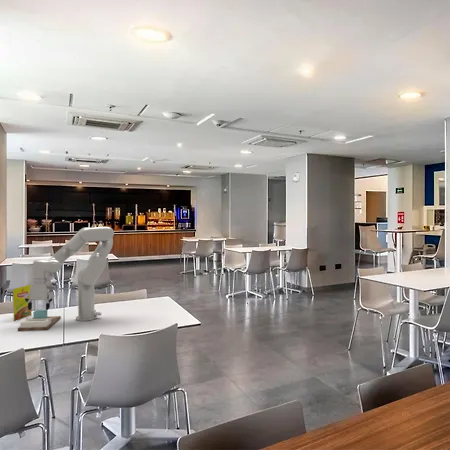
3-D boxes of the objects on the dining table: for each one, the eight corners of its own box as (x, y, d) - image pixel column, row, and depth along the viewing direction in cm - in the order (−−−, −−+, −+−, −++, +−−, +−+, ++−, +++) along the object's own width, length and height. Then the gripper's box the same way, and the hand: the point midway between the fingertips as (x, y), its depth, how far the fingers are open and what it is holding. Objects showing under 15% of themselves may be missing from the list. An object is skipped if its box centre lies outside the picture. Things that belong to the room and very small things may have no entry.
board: (60, 318, 235) (60, 316, 234) (47, 330, 211) (47, 327, 211) (33, 319, 232) (33, 317, 232) (17, 331, 209) (17, 328, 209)
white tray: (51, 322, 219) (51, 317, 219) (46, 326, 212) (46, 321, 211) (25, 323, 218) (25, 318, 218) (20, 327, 210) (20, 322, 210)
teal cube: (47, 320, 225) (47, 309, 225) (44, 322, 219) (44, 311, 219) (36, 320, 224) (36, 309, 224) (33, 323, 219) (33, 312, 218)
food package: (14, 321, 228) (14, 288, 227) (12, 321, 228) (12, 288, 227) (32, 315, 243) (31, 284, 242) (30, 315, 243) (30, 284, 242)
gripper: (57, 279, 226) (56, 308, 226) (26, 279, 224) (25, 308, 224) (52, 281, 218) (52, 311, 219) (21, 281, 216) (20, 311, 216)
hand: (38, 309), depth 221 cm, fingers open, 9 cm apart
